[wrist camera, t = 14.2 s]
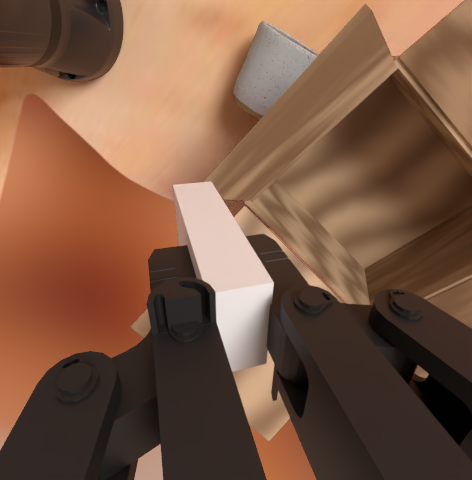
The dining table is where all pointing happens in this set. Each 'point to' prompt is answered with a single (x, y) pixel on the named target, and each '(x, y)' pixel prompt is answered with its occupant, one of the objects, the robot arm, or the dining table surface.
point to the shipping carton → (371, 165)
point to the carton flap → (260, 377)
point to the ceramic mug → (270, 69)
